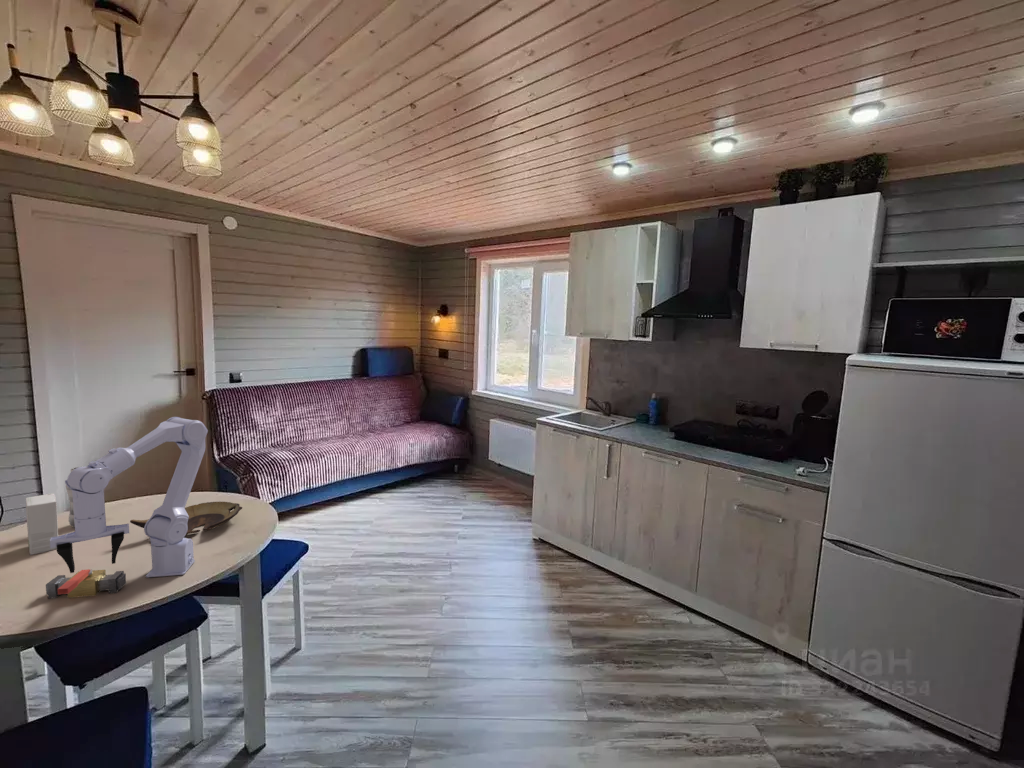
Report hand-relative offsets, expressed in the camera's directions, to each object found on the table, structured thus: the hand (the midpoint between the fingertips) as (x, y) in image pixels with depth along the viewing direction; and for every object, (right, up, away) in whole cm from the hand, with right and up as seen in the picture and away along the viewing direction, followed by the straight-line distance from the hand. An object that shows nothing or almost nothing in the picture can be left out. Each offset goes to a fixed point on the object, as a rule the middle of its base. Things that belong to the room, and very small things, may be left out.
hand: (93, 566), depth 117 cm
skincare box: (-39, -5, +26) cm, 47 cm away
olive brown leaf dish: (-5, -4, +44) cm, 44 cm away
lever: (-6, -5, +2) cm, 8 cm away
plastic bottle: (-41, -2, +41) cm, 58 cm away
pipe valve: (-7, -9, +6) cm, 13 cm away
